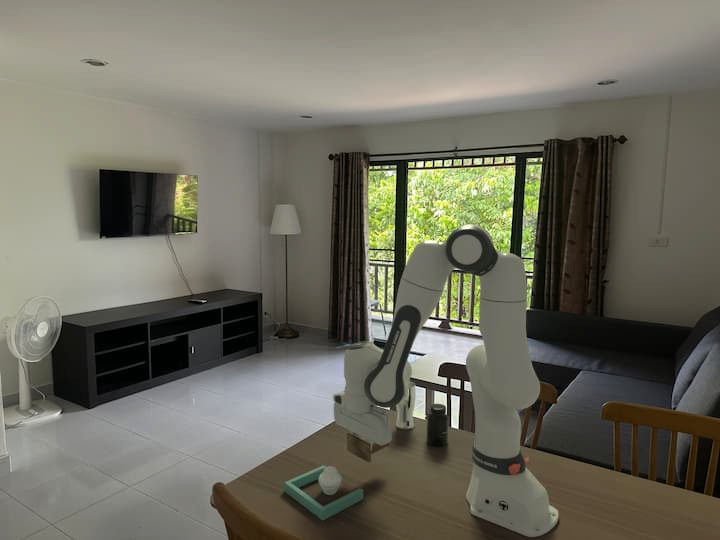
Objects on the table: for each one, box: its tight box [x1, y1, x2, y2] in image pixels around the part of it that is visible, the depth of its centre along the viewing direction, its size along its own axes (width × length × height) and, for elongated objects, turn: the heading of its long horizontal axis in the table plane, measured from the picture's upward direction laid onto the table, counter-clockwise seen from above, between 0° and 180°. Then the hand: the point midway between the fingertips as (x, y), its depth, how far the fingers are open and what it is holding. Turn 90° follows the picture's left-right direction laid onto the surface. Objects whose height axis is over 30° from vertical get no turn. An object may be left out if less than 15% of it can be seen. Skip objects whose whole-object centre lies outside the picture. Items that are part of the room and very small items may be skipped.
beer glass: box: [395, 380, 417, 431], centre depth 168 cm, size 7×7×15 cm
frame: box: [283, 464, 364, 521], centre depth 127 cm, size 16×13×2 cm
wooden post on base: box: [346, 432, 391, 463], centre depth 137 cm, size 9×11×5 cm
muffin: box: [317, 465, 343, 496], centre depth 128 cm, size 6×6×7 cm
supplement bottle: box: [426, 403, 450, 447], centre depth 156 cm, size 7×7×12 cm
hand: (362, 448), depth 135 cm, fingers closed on wooden post on base, 3 cm apart
